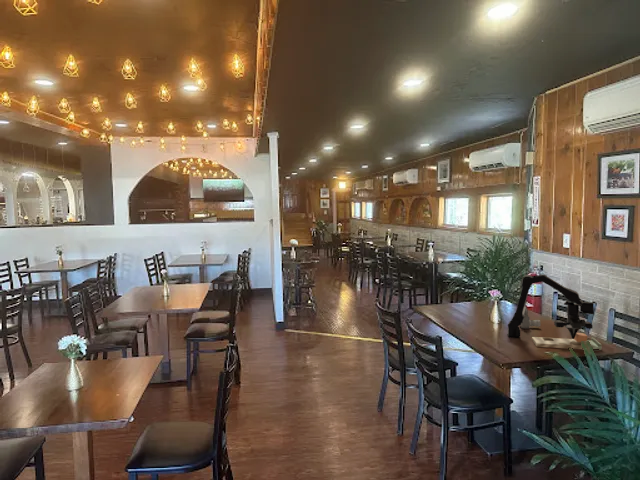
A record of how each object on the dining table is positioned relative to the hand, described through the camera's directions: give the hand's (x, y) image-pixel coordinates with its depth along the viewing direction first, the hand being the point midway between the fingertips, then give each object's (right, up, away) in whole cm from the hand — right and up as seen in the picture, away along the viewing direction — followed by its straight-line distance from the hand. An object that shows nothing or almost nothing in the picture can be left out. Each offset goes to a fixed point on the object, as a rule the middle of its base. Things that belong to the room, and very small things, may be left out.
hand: (572, 338), depth 250 cm
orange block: (+4, -1, -1) cm, 4 cm away
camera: (-7, -1, +36) cm, 37 cm away
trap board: (-5, -3, -2) cm, 7 cm away
